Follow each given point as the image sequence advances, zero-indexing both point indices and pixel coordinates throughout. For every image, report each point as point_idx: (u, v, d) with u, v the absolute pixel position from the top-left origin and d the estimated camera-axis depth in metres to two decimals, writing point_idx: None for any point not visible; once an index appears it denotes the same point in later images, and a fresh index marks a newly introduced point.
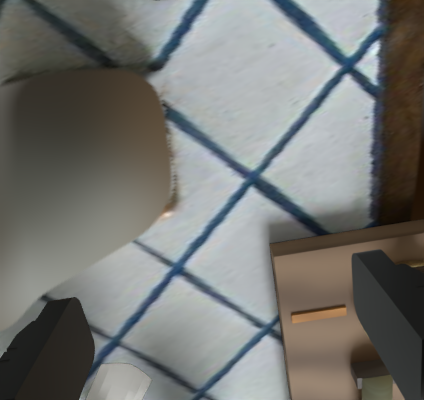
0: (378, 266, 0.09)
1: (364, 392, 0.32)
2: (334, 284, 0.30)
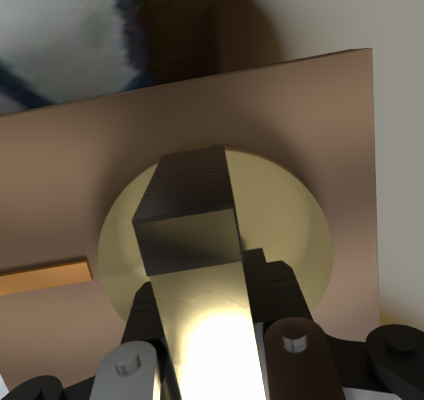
0: (251, 262, 0.11)
1: None
2: (48, 208, 0.14)
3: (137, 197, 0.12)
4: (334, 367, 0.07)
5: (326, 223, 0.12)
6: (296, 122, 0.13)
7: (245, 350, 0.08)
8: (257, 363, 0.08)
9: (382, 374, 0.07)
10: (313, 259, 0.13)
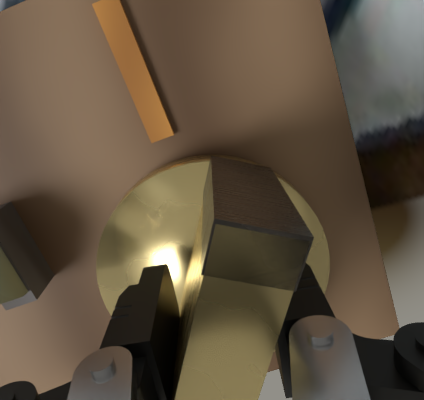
0: None
1: None
2: (230, 86, 0.12)
3: (169, 185, 0.12)
4: (360, 368, 0.06)
5: (328, 272, 0.13)
6: (341, 297, 0.15)
7: (255, 373, 0.08)
8: (260, 387, 0.08)
9: (410, 371, 0.07)
10: None
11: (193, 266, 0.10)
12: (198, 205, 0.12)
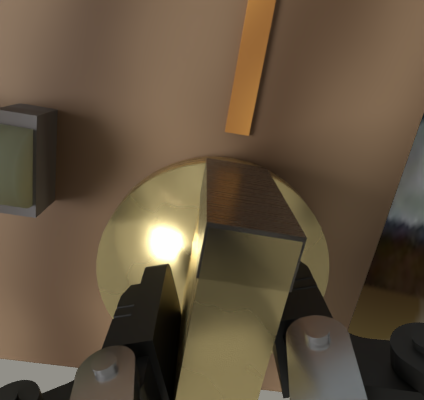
0: None
1: None
2: (319, 122, 0.13)
3: (166, 188, 0.12)
4: (357, 368, 0.07)
5: (327, 270, 0.13)
6: None
7: (254, 373, 0.08)
8: (259, 388, 0.08)
9: (406, 371, 0.07)
10: None
11: (191, 268, 0.11)
12: (195, 207, 0.12)
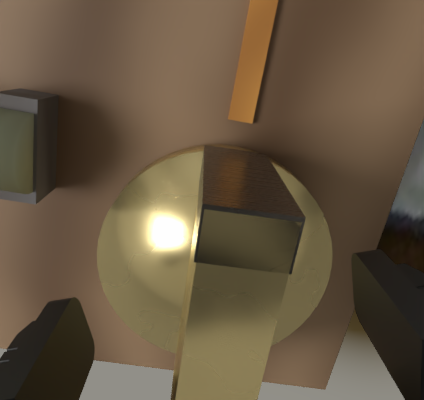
0: (378, 266, 0.09)
1: None
2: (323, 110, 0.12)
3: (164, 177, 0.12)
4: None
5: (330, 256, 0.13)
6: (298, 337, 0.16)
7: (256, 359, 0.08)
8: (262, 373, 0.08)
9: None
10: (307, 286, 0.13)
11: (191, 257, 0.10)
12: (195, 196, 0.12)
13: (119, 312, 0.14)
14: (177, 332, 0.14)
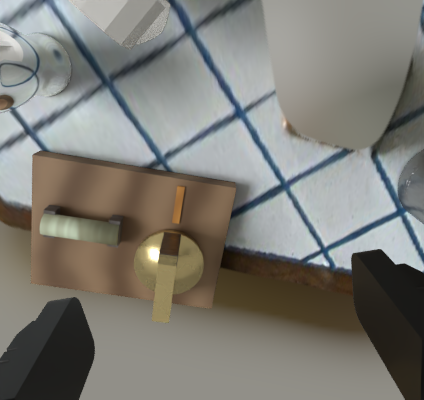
0: (378, 266, 0.09)
1: (106, 224, 0.41)
2: (199, 219, 0.43)
3: (153, 240, 0.42)
4: None
5: (203, 262, 0.43)
6: (199, 289, 0.46)
7: (171, 284, 0.38)
8: (173, 287, 0.39)
9: None
10: (197, 271, 0.44)
11: None
12: None
13: (140, 279, 0.44)
14: None
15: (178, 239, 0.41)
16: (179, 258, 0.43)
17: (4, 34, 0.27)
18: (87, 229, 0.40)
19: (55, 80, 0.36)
